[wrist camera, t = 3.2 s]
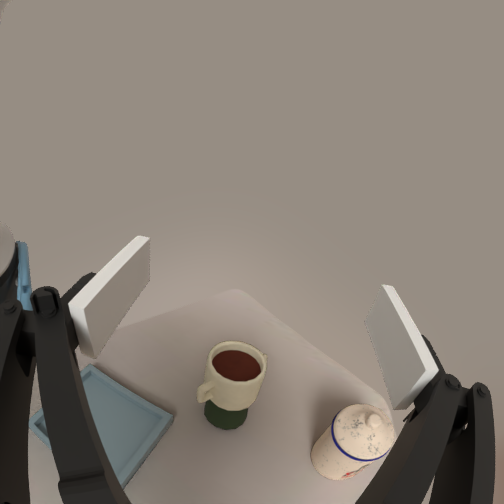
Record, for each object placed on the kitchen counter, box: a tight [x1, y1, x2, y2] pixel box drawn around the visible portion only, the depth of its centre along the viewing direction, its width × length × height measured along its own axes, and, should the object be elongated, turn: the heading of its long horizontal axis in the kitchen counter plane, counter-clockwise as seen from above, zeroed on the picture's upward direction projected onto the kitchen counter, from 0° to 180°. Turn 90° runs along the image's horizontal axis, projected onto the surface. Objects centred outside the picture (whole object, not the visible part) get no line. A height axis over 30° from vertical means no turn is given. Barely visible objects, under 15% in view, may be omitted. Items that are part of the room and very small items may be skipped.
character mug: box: [197, 341, 267, 430], centre depth 34 cm, size 11×7×13 cm, turn 132°
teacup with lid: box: [311, 404, 394, 480], centre depth 30 cm, size 12×9×12 cm
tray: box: [29, 364, 173, 489], centre depth 28 cm, size 16×16×2 cm
